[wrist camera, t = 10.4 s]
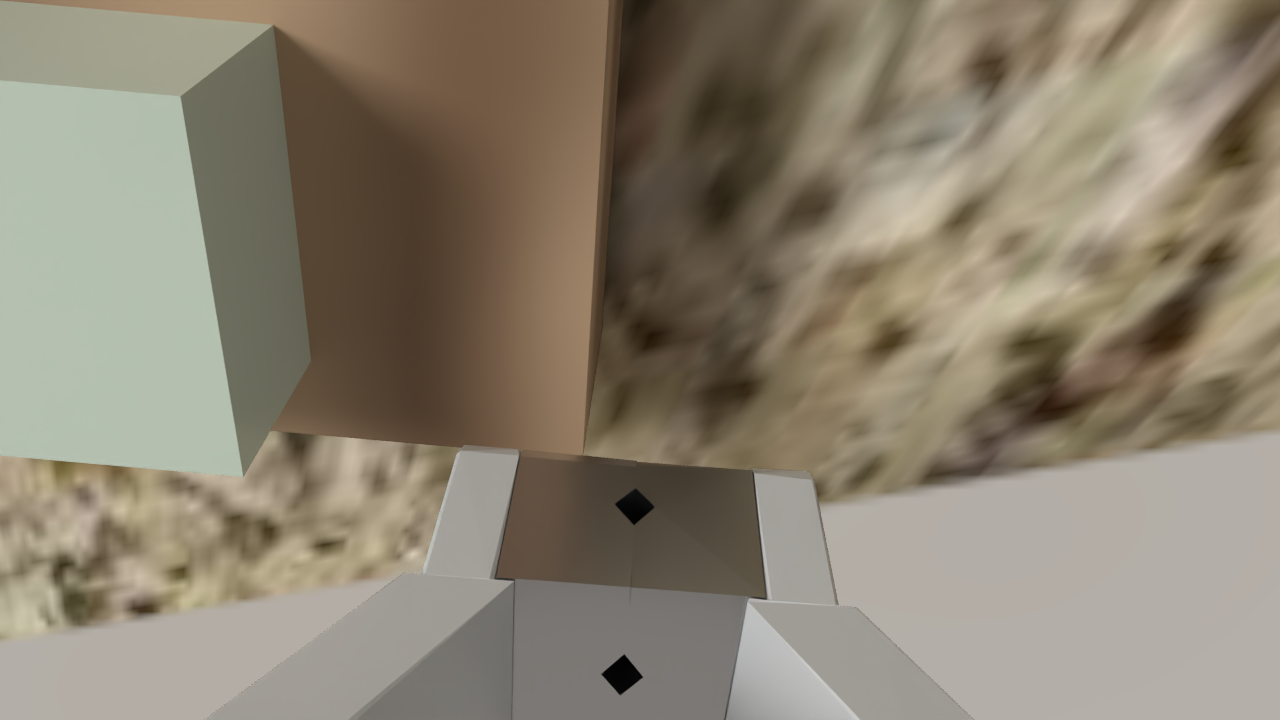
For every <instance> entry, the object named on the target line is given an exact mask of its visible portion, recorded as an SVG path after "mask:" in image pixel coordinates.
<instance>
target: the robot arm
mask: <svg viewBox="0 0 1280 720" xmlns="http://www.w3.org/2000/svg"><path fill="white" fill-rule="evenodd" d="M204 720H974V719H973V718H972V717H971V716H970V715H969V714H968V713H967V712H966V711H964V710H963V709H962V708H961V707H960V706H959V705H958V704H957V703H956V702H955V701H954V700H953V699H952V698H951V697H950V696H949V695H948V694H947V693H946V692H945V691H944V690H942V689H941V688H940V687H939V686H938V685H937V684H936V683H935V682H934V681H933V680H932V679H931V678H930V677H929V676H928V675H927V674H926V673H925V672H924V671H923V670H921V669H920V667H918V666H917V665H916V664H915V663H914V662H913V661H912V660H911V659H910V658H909V657H908V656H907V655H906V654H905V653H904V652H903V651H902V650H901V649H900V648H899V647H897V645H895V644H894V643H893V642H892V641H891V640H890V639H889V638H888V637H887V636H886V635H885V634H884V633H883V632H882V631H881V630H880V629H879V628H878V627H877V626H876V625H875V624H873V623H872V622H871V621H870V620H869V619H868V618H867V617H866V616H865V615H864V614H863V613H862V612H861V611H860V610H859V609H858V608H856V607H848V606H839V605H838V600H837V595H836V589H835V585H834V579H833V574H832V569H831V564H830V559H829V554H828V548H827V543H826V538H825V533H824V528H823V523H822V518H821V512H820V507H819V502H818V497H817V492H816V487H815V482H814V478H813V477H812V475H811V474H810V473H809V472H808V471H796V470H777V469H757V468H751V470H740V469H727V468H713V467H700V466H686V465H673V464H660V463H646V462H637V461H633V460H623V459H613V458H603V457H593V456H583V455H573V454H563V453H553V452H543V451H533V450H523V451H522V452H521V451H520V450H518V449H509V448H497V447H485V446H473V445H464V446H463V447H462V448H461V449H460V451H459V452H458V453H457V455H456V458H455V462H454V465H453V468H452V472H451V475H450V479H449V482H448V486H447V489H446V492H445V496H444V499H443V503H442V506H441V509H440V513H439V516H438V520H437V523H436V527H435V530H434V533H433V537H432V540H431V544H430V547H429V550H428V554H427V557H426V561H425V564H424V568H423V571H422V574H414V573H403V574H401V575H400V576H399V577H397V578H396V579H395V580H393V581H392V582H391V583H389V584H388V585H387V586H385V587H384V588H382V589H381V590H380V591H379V592H377V593H376V594H374V595H373V596H371V597H370V598H369V599H368V600H366V601H365V602H363V603H362V604H361V605H359V606H358V607H357V608H355V609H354V610H353V611H351V612H350V613H348V614H347V615H346V616H344V617H343V618H342V619H340V620H339V621H338V622H336V623H335V624H334V625H332V626H331V627H329V628H328V629H327V630H325V631H324V632H323V633H321V634H320V635H319V636H317V637H316V638H314V639H313V640H312V641H310V642H309V643H308V644H306V645H305V646H304V647H302V648H301V649H300V650H298V651H297V652H295V653H294V654H293V655H291V656H290V657H289V658H287V659H286V660H285V661H283V662H282V663H280V664H279V665H278V666H277V667H275V668H274V669H272V670H271V671H270V672H268V673H267V674H266V675H264V676H263V677H261V678H260V679H259V680H257V681H256V682H255V683H254V684H252V685H251V686H249V687H248V688H247V689H245V690H244V691H242V692H241V693H240V694H238V695H237V696H236V697H234V698H233V699H232V700H230V701H229V702H228V703H226V704H225V705H224V706H222V707H221V708H219V709H218V710H217V711H215V712H214V713H213V714H211V715H210V716H209V717H207V718H206V719H204Z"/></svg>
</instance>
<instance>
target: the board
mask: <svg viewBox="0 0 1280 720" xmlns="http://www.w3.org/2000/svg"><path fill="white" fill-rule="evenodd" d="M1 1H12V2H23V3H35V4H46V5H57V6H68V7H80V8H91V9H102V10H113V11H124V12H136V13H147V14H158V15H169V16H181V17H192V18H203V19H214V20H226V21H237V22H248V23H259V24H270V25H274V34H275V43H276V52H277V61H278V70H279V79H280V88H281V97H282V105H283V114H284V123H285V132H286V141H287V150H288V159H289V168H290V177H291V186H292V195H293V204H294V213H295V221H296V230H297V239H298V248H299V257H300V266H301V275H302V284H303V293H304V302H305V311H306V320H307V329H308V338H309V346H310V355H311V362H310V364H309V365H308V367H307V369H306V371H305V372H304V374H303V376H302V377H301V379H300V381H299V383H298V384H297V386H296V388H295V389H294V391H293V393H292V395H291V396H290V398H289V400H288V401H287V403H286V405H285V407H284V408H283V410H282V412H281V413H280V415H279V417H278V418H277V420H276V422H275V424H274V425H273V427H272V429H271V430H270V431H281V432H292V433H303V434H315V435H326V436H337V437H348V438H360V439H371V440H382V441H393V442H404V443H416V444H427V445H438V446H449V447H461V448H462V447H463V446H464V445H473V446H485V447H497V448H509V449H518V450H520V451H521V452H522V451H523V450H533V451H543V452H553V453H563V454H573V455H583V452H584V446H585V439H586V432H587V426H588V419H589V413H590V406H591V400H592V393H593V387H594V380H595V374H596V367H597V361H598V354H599V347H600V341H601V334H602V322H603V307H604V291H605V276H606V260H607V245H608V229H609V214H610V198H611V183H612V167H613V152H614V136H615V121H616V106H617V90H618V75H619V59H620V44H621V28H622V13H623V0H1Z"/></svg>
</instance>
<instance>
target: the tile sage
mask: <svg viewBox="0 0 1280 720" xmlns="http://www.w3.org/2000/svg"><path fill="white" fill-rule="evenodd" d="M310 362H311V355H310V346H309V338H308V329H307V320H306V311H305V302H304V293H303V284H302V275H301V266H300V257H299V248H298V239H297V230H296V221H295V213H294V204H293V195H292V186H291V177H290V168H289V159H288V150H287V141H286V132H285V123H284V114H283V105H282V97H281V88H280V79H279V70H278V61H277V52H276V43H275V34H274V25H270V24H259V23H248V22H237V21H226V20H214V19H203V18H192V17H181V16H169V15H158V14H147V13H136V12H124V11H113V10H102V9H91V8H80V7H68V6H57V5H46V4H35V3H23V2H12V1H1V0H0V455H2V456H13V457H24V458H35V459H47V460H58V461H69V462H80V463H91V464H103V465H114V466H125V467H136V468H148V469H159V470H170V471H181V472H193V473H204V474H215V475H226V476H238V477H244V475H245V473H246V472H247V470H248V468H249V466H250V465H251V463H252V461H253V460H254V458H255V456H256V454H257V453H258V451H259V449H260V448H261V446H262V444H263V442H264V441H265V439H266V437H267V436H268V434H269V432H270V430H271V429H272V427H273V425H274V424H275V422H276V420H277V418H278V417H279V415H280V413H281V412H282V410H283V408H284V407H285V405H286V403H287V401H288V400H289V398H290V396H291V395H292V393H293V391H294V389H295V388H296V386H297V384H298V383H299V381H300V379H301V377H302V376H303V374H304V372H305V371H306V369H307V367H308V365H309V364H310Z"/></svg>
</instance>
